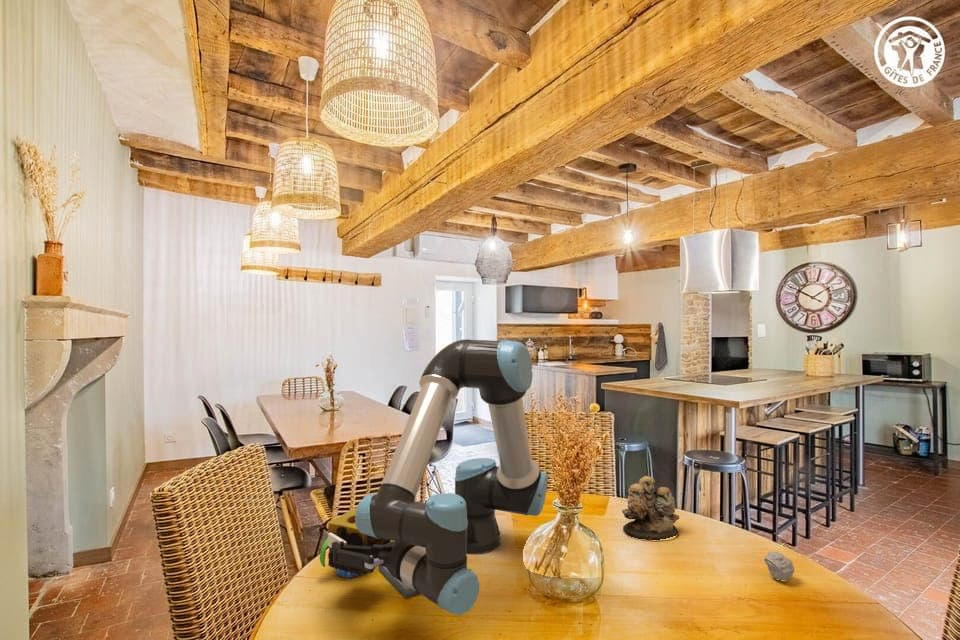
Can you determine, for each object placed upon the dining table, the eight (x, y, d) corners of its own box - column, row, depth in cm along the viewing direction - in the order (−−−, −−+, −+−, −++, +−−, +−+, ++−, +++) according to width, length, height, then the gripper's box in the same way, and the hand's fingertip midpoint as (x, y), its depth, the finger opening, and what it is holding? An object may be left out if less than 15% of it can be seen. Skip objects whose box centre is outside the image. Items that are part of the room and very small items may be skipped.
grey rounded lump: (757, 575, 122) (758, 548, 122) (780, 572, 123) (780, 545, 123) (778, 588, 116) (778, 559, 116) (801, 585, 117) (801, 556, 117)
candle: (391, 556, 111) (392, 513, 111) (364, 577, 102) (364, 530, 102) (356, 547, 115) (356, 506, 115) (326, 567, 106) (327, 522, 106)
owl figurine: (632, 544, 138) (632, 484, 139) (613, 527, 150) (613, 472, 150) (687, 539, 142) (687, 481, 142) (665, 523, 153) (665, 470, 154)
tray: (429, 554, 130) (429, 547, 130) (460, 578, 117) (460, 570, 118) (378, 570, 121) (378, 562, 121) (405, 598, 109) (406, 589, 109)
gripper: (359, 609, 86) (304, 565, 101) (457, 561, 104) (397, 530, 118) (360, 567, 86) (304, 530, 101) (457, 526, 104) (398, 499, 118)
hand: (354, 529), depth 110 cm, fingers closed on candle, 12 cm apart
